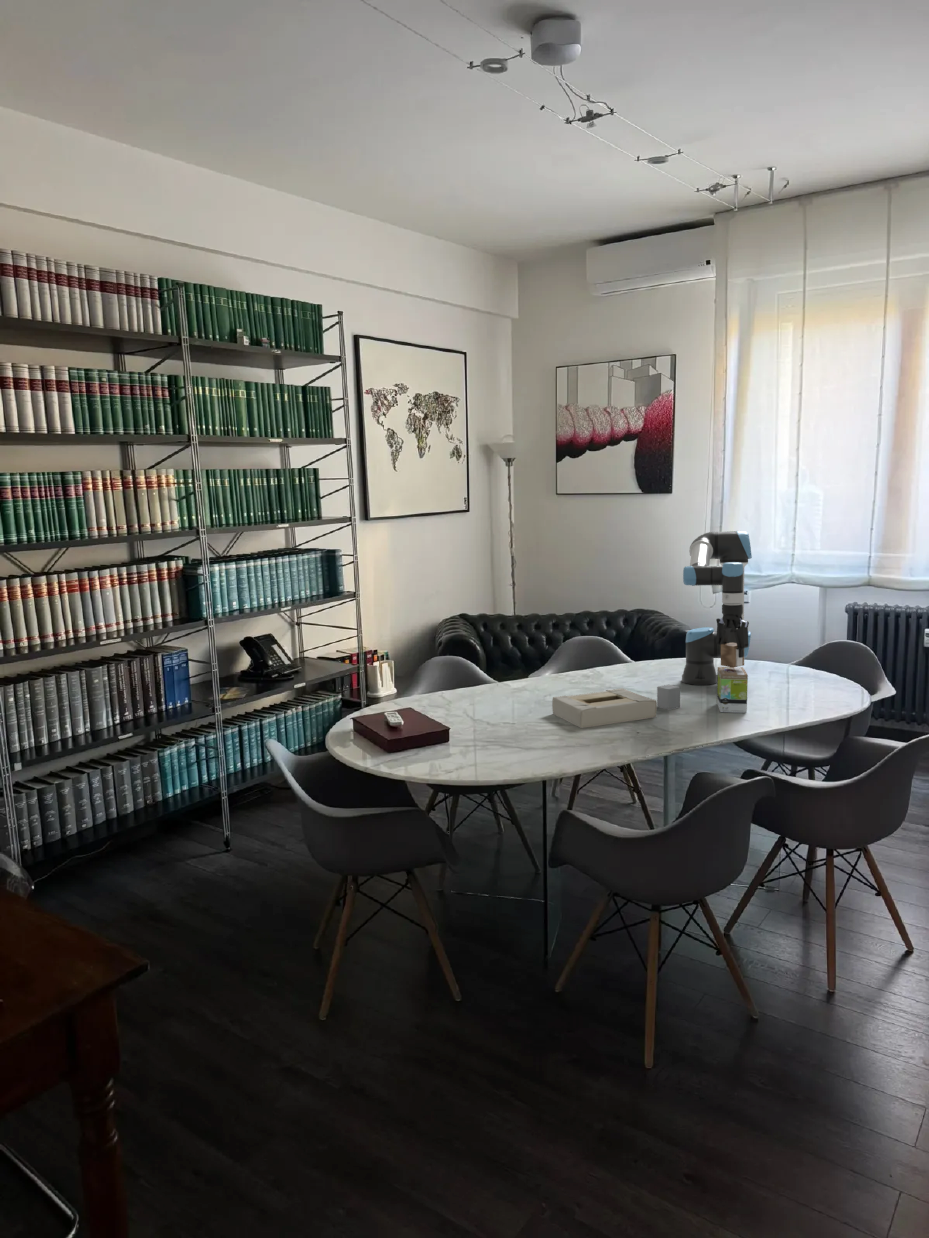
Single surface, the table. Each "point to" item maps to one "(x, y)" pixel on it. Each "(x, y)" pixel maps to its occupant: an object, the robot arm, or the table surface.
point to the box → (603, 707)
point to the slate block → (668, 697)
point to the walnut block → (729, 655)
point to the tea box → (732, 689)
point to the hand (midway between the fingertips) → (732, 664)
